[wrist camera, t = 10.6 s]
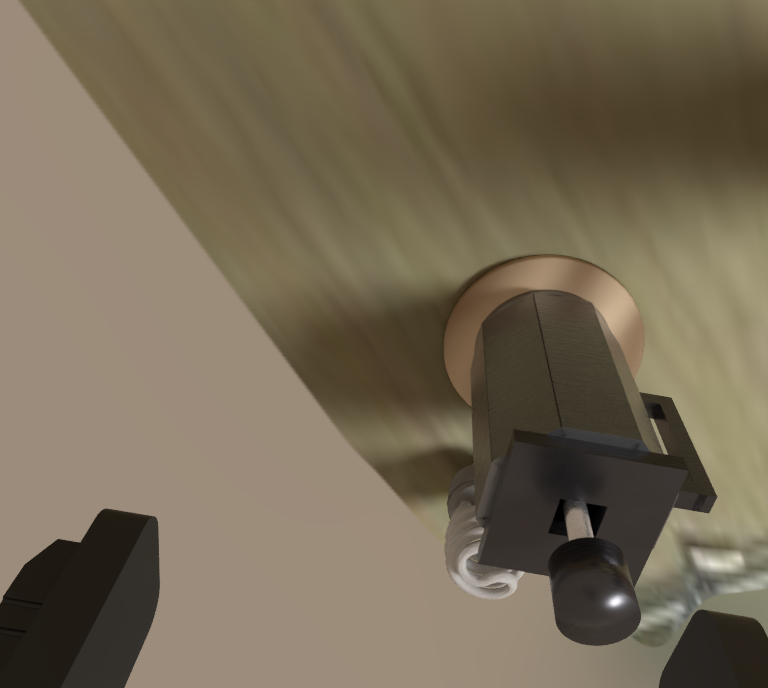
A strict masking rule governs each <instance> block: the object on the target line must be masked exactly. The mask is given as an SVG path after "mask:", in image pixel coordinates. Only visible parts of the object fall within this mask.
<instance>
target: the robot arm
mask: <svg viewBox="0 0 768 688" xmlns="http://www.w3.org/2000/svg"><path fill="white" fill-rule="evenodd" d="M159 578H160V577H159V539H158V521H157V519H156V517H154V516H148V515H142V514H136V513H130V512H124V511H118V510H112V509H103V510H102V511H101V512H100V513H99V514H98V515H97V517H96V518H95V520H94V521H93V523H92V525H91V526H90V528H89V529H88V531H87V533H86V534H85V536H84V538H83V539H82V541H81V543H78V542H72V541H67V540H61V539H57V540H56V541H55V542H53V543H52V544H51V545H50V546H48V547H47V548H46V549H44V550H43V551H42V552H40V553H39V554H38V555H36V556H35V557H34V558H33V559H31V560H30V561H29V562H27V563H26V564H25V565H24V566H23V568H22V569H21V571H20V572H19V574H18V575H17V577H16V578H15V580H14V581H13V583H12V584H11V586H10V587H9V589H8V590H7V591H6V593H5V595H4V596H3V600H2V602H1V604H0V688H124V687H125V685H126V683H127V680H128V678H129V676H130V673H131V671H132V669H133V666H134V664H135V662H136V660H137V657H138V655H139V653H140V650H141V648H142V646H143V644H144V641H145V639H146V637H147V634H148V632H149V630H150V627H151V624H152V622H153V618H154V615H155V611H156V607H157V603H158V597H159V589H160V579H159ZM659 688H768V637H767V635H766V633H765V631H764V629H763V627H762V626H761V624H760V623H759V622H758V621H757V620H755V619H754V618H750V617H744V616H738V615H732V614H725V613H720V612H714V611H708V610H698V611H697V612H696V613H695V614H694V615H693V617H692V618H691V620H690V622H689V624H688V626H687V628H686V629H685V631H684V633H683V635H682V637H681V639H680V640H679V642H678V644H677V646H676V648H675V650H674V652H673V653H672V655H671V657H670V659H669V661H668V662H667V664H666V666H665V668H664V670H663V672H662V675H661V678H660V683H659Z"/></svg>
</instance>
